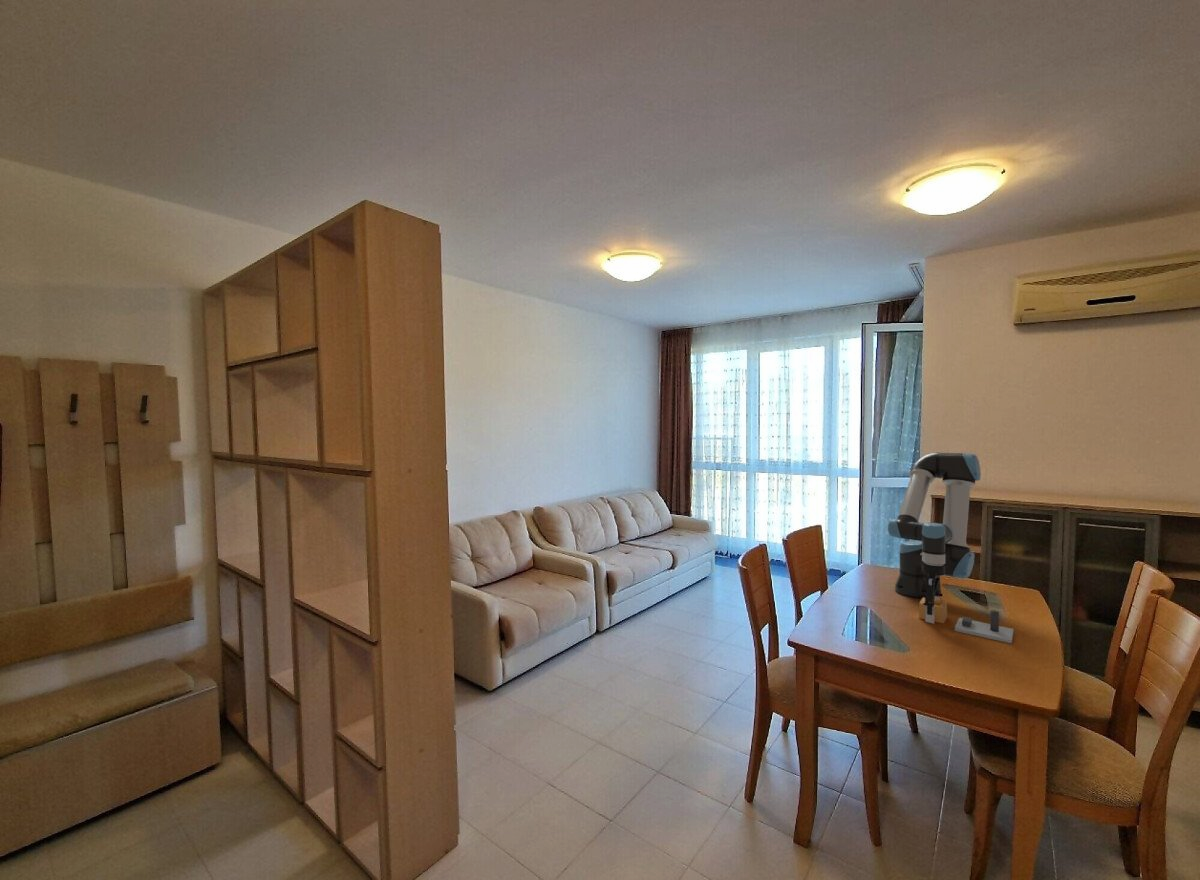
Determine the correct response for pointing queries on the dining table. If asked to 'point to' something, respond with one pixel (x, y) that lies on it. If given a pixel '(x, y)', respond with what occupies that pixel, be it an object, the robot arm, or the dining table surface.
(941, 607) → the link
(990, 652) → the dining table surface
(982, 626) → the keeper board
